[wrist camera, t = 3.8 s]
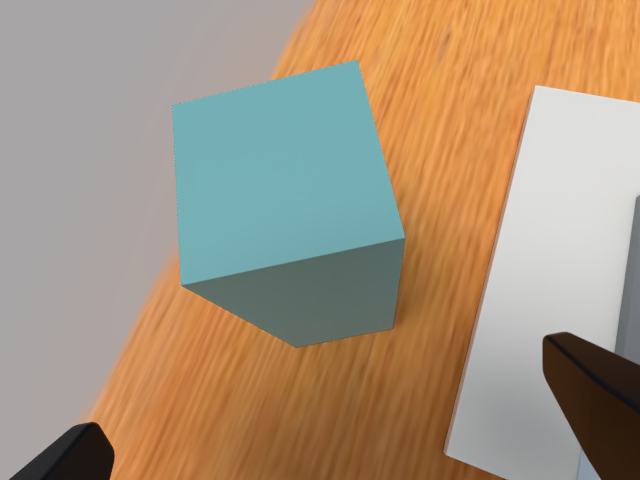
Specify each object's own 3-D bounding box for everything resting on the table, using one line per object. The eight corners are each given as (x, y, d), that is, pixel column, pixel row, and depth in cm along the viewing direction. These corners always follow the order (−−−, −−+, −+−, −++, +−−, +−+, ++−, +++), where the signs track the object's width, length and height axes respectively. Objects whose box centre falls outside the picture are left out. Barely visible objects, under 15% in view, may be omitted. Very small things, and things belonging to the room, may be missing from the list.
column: (392, 328, 21) (405, 237, 9) (296, 347, 21) (180, 285, 9) (371, 237, 23) (357, 59, 11) (282, 256, 23) (171, 105, 11)
